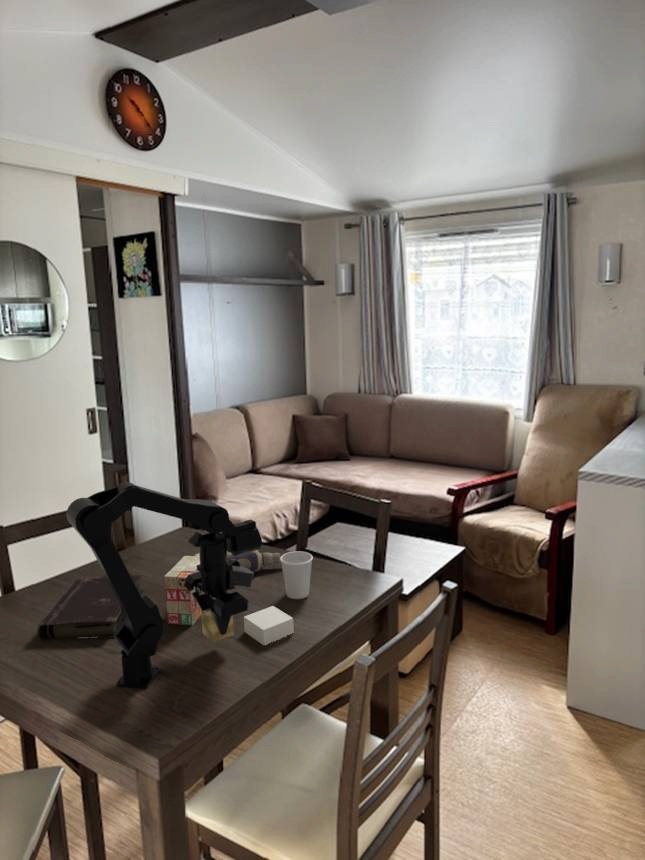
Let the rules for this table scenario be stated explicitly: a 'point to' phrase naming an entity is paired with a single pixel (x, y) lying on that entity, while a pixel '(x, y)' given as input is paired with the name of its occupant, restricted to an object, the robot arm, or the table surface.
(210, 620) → the mustard cube
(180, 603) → the stack of blocks
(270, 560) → the decorative bottle
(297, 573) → the dixie cup
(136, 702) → the table surface
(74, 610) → the diary
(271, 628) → the ivory block
